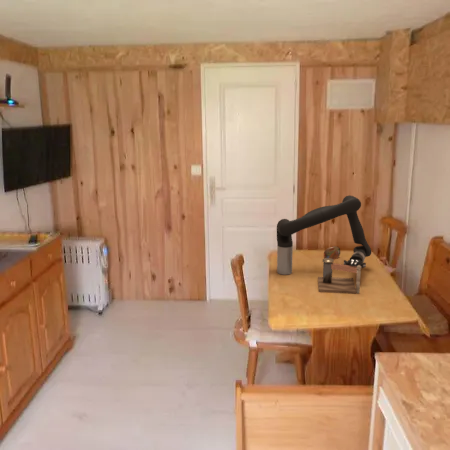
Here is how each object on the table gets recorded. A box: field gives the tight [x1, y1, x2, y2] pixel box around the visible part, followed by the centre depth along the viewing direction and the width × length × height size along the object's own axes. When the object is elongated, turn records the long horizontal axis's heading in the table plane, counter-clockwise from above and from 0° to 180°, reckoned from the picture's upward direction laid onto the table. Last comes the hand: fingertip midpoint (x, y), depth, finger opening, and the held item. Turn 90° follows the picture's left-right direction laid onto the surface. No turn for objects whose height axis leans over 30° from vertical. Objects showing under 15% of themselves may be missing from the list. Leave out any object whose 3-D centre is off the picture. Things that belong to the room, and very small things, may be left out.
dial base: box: [317, 265, 362, 295], centre depth 260 cm, size 20×22×16 cm
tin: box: [323, 245, 341, 261], centre depth 308 cm, size 15×3×8 cm, turn 129°
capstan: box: [322, 257, 357, 283], centre depth 259 cm, size 20×6×13 cm, turn 60°
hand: (351, 268), depth 256 cm, fingers closed
